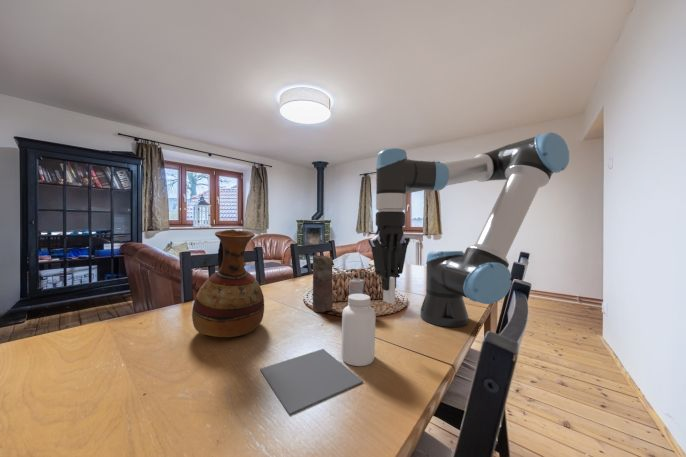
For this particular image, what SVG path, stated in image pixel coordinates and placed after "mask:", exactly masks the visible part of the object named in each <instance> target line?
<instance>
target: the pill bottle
mask: <svg viewBox="0 0 686 457" xmlns="http://www.w3.org/2000/svg"><path fill="white" fill-rule="evenodd" d="M341 314H342V315H341V317H342V318H341V354H340V355H341V359H342V361H343V362H344V363H346V364H348V365H350V366H355V367H363V366H364V367H366V366H369V365H370V364H372V363H373V362H374V360H375V354H376V353H375V352H376V351H375V350H376V348H375V347H376V320H377V318H376V315H377V314H376V310H375V309H374V308H373V307H371V296H370V295H368V294H365V293H364V294H351V295H349V294H348V297H347V306H345V307H344V308H343V309H342V313H341Z"/></svg>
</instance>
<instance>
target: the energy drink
mask: <svg viewBox="0 0 686 457" xmlns="http://www.w3.org/2000/svg"><path fill="white" fill-rule="evenodd" d="M351 294H365V280H364V279H363V278H350V279H349V281H348V296H349V295H351Z"/></svg>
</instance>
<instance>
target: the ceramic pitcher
mask: <svg viewBox="0 0 686 457" xmlns="http://www.w3.org/2000/svg"><path fill="white" fill-rule="evenodd" d="M214 235H215V237H216V238H218V239H219V246H218V249H217V263H218V264H217V266H218V267H217V268H218V270H217V271H216V272H214V273H212V274H211V275H210V276H209V277H208V278H207V279H206V280H205V281H204V282H203V283H202V285H201V286H200V288H199V290H198V291H197V294H196V295H195V299H194V301H193V305H192V308H191V310H192V311H191V320H192V325H193V327H194V329H195V330H196V332H197V333H200V334H202V335H206V336H211V337H217V338H232V337H239V336H240V337H241V336H242V335H246V334H249V333H250V332H252V331H254V330H255V329H256V328H257V327H259V326H260V324H261V322H262V321H263V319H264V318H263V317H264V314H265V297H264V294H263V290H262V288H261V285H260V284H259V282H258V281H257V279H256V278H255V276H254V275H252V274H251V273H250V272H249V271H247V270H246V268H245V262H244V261H245V260H244V259H245V253H246V252H245V251H246V249H247V245H248V243H249V242H250V241H251V239H253V238H254V237H255V236H256V234H255V233H254V232H251V231H248V230H236V229H226V230H220V231H216V232H215V233H214Z"/></svg>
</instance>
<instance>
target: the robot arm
mask: <svg viewBox="0 0 686 457" xmlns="http://www.w3.org/2000/svg"><path fill="white" fill-rule="evenodd" d="M407 154H408V153H407V151H406V150H405V149H403V148H394V147H392V148H391V147H390V148H384V149H382V150H380V151H379V152H378V153H377V157H376V166H375V171H376V172H375V174H376V176H375V177H376V178H375V179H376V186H375V187H376V188H375V190H376V193H375V209H376V210H377V211H376V213H375V226H376V227H377V229H376V232H375V236H373V238H368V244H369V245H370V248H371V253H372V259H373V260H372V261H373V267H374V271H375V275H377V276H379V277H381V289H382V292H383V294H382V301H383V302H385V303H388V304H389V305H390V304H395V303H396V302H395V301H396V300H395V298H396V288H397V279H398V278H400V276H401V275H400V274H403V271H404V266H405V261H406V260H405V259H406V256H407V255H406V254H407V250H408V246H409V243H410V241H411V238H410V237H406V236H405V235H404V230H403V227H405V226H406V213H405V210H407V208H406V207H407V206H406V205H407V204H406V202H407V201H406V200H407V199H406V197H407V195H406V194H410V193H416V192H420V191H422V192H423V191H431V192H433V191H441V190H443V189H445V188H446V187H447V186H452V185H457V184H463V183H468V182H473V181H477V182H479V183H480V182H482V183H483V182H488V181H491V182H492V181H505V183H504V184H503V187H502V189H501V191H500V193H499V195H498V197H497V199H496V201H495V203H494V204H493V207H492V209H491V212H490V213H489V215H488V217H487V219H486V221H485V223H484V225H483V227H482V230H481V231H480V233H479V235H478V237H477V239H476V241H475V243H474V245H470V246H467V247H466V250H465V251H463V250H447V251H442V250H441V251H430V252H428V253H427V256H426V262H425V264H426V278H425V279H426V280H425V281H426V282H425V283H426V286H425V287H426V288H425V289H426V290H425V291H426V292H425V296H424V300H423V302H422V305H421V307H420V315H419V316H420V318H421V319H422V320H424V321H425V322H426V323H429V324H433V325H436V326H440V327H445V328H446V327H447V328H458V327H464V326H467V325H468V324H469V314H468V310H467V307H466V304H465V301H464V298H467V299H469V300H470V301H472V302H475V303H476V302H477V303H479V304H483V305H492V304H494V303H497V302H500V301H502V300H503V299H504V298H505V297H506V296H507V294H508V293H509V291H510V289H511V286H512V279H511V278H512V273H511V271H510V270H509V266H510V262H509V261H508V258H507V255H508V253H509V251H510V249H511V247H512V246H513V243H514V241H515V239H516V237H517V236H518V232H520V231H519V230H520V228H521V226H522V224H523V223H524V220H525V218H526V216H527V214H528V212H529V209H530V207H531V205H532V203H533V201H534V199H535V197H536V195H537V192H538V190H539V188H543V187H545V186H546V185H548V184H549V182H550V180H551V177H552V176H553V174H557V173H558V174H559V173H560V172H562V171H564V170H565V169H566V168H567V167H568V165H569V163H570V151H569V147H568V144H567V142H566V141H565V140H564V138H563V137H562V136H561V135H559V134H558V133H555V132H547V133H542V134H541V133H539V134H537V135H535V136H533V137H530V138H526V139H523V140H519V141H516V142H513V143H509V144H506V145H503V146H500V147H499V148H495V149H493V150H490V151H487V152H482V153H479V154H477V155H475V157H472V158H465V159H460V160H459V159H458V160H453V161H448V162H437V161H435V160H434V161H430V160H429V161H428V160H427V161H426V160H414V159H408V156H407Z"/></svg>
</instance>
